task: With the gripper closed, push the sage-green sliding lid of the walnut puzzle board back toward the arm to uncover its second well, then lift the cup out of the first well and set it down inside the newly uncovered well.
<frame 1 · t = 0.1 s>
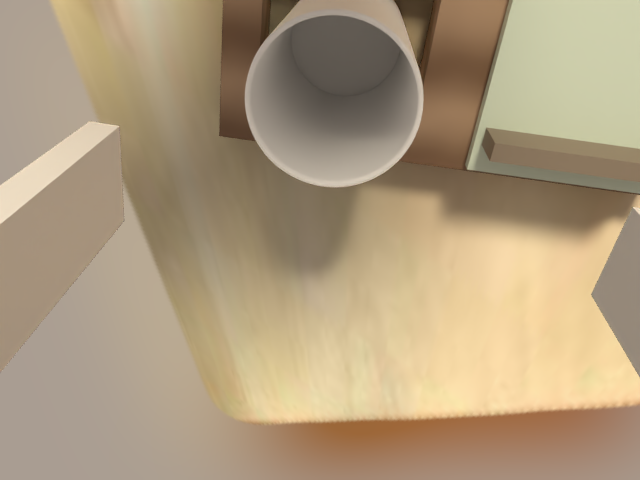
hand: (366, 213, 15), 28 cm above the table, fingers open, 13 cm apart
lid: (601, 93, 34), point 6 cm above the table, slide at 0.0 cm
board: (459, 55, 39), on the table
cup: (346, 39, 39), resting in board
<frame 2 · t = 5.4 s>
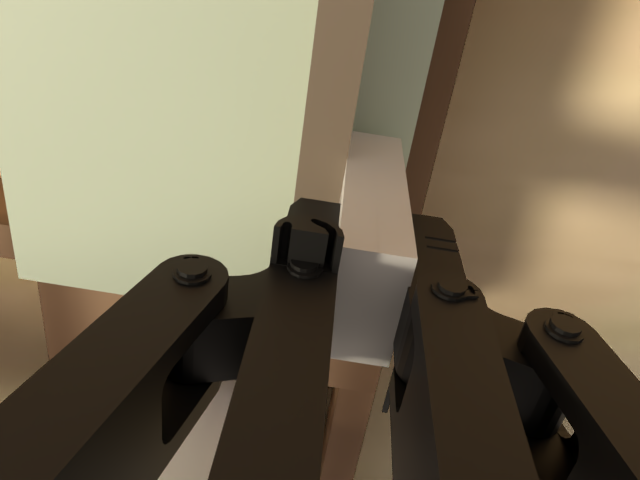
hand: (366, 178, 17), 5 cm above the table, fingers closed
lid: (187, 151, 16), point 6 cm above the table, slide at 0.5 cm, touching gripper
board: (231, 273, 25), on the table
cup: (224, 395, 29), resting in board
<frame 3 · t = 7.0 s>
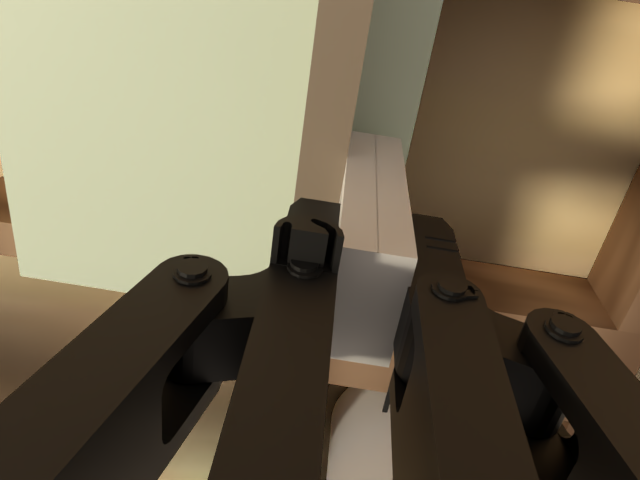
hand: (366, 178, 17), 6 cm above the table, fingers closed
lid: (188, 149, 16), point 6 cm above the table, slide at 10.4 cm, touching gripper
board: (446, 305, 25), on the table
cup: (408, 422, 30), resting in board
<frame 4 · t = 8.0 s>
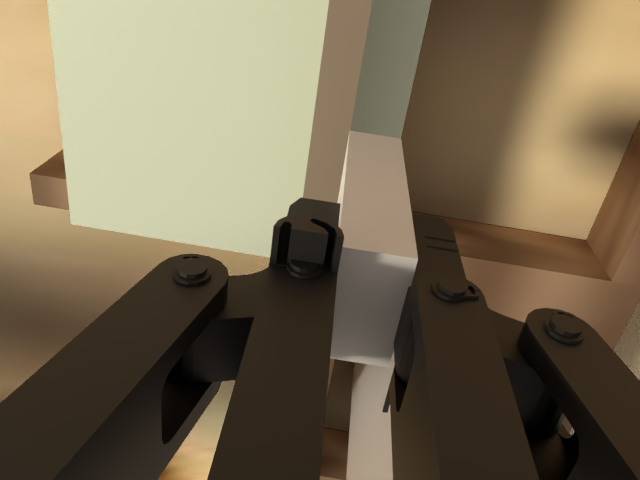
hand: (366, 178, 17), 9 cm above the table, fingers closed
lid: (220, 108, 20), point 6 cm above the table, slide at 11.3 cm
board: (460, 264, 28), on the table
cup: (423, 375, 33), resting in board
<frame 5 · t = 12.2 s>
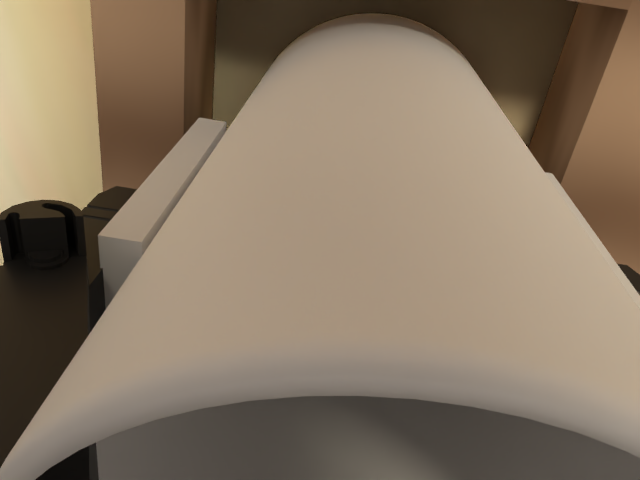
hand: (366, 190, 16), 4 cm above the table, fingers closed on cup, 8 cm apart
board: (594, 174, 19), on the table
cup: (367, 136, 20), resting in board, touching gripper
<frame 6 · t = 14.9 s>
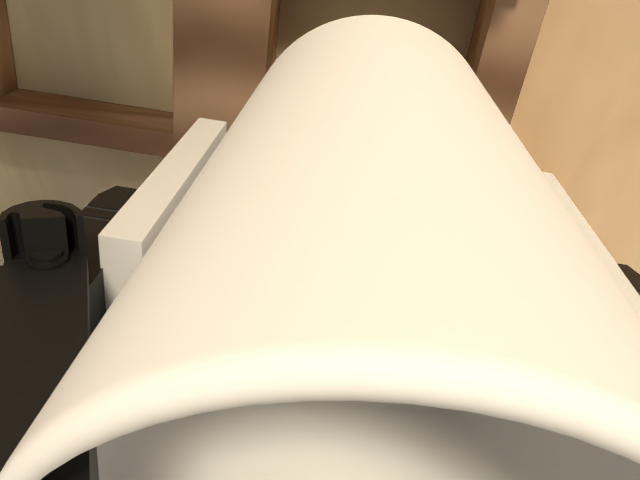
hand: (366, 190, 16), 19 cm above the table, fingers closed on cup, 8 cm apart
board: (234, 30, 32), on the table
cup: (367, 137, 20), point 15 cm above the table, touching gripper
when the fingers open (6 cm above the table, at t = 17.8 s): cup drops 1 cm, resting in board.
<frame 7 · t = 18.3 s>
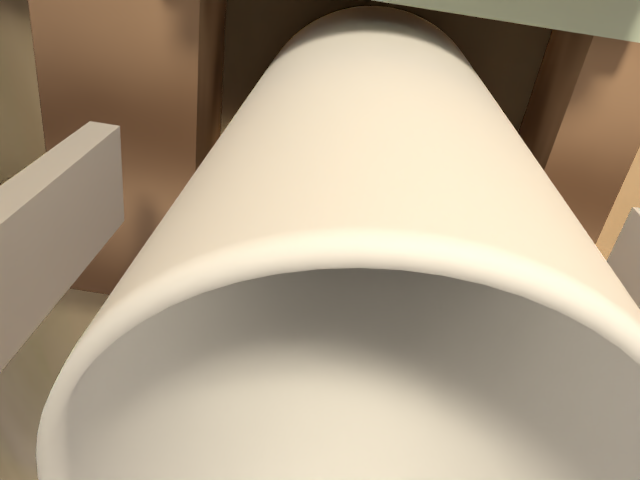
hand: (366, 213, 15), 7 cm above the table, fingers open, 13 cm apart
board: (155, 91, 21), on the table
cup: (367, 122, 21), resting in board
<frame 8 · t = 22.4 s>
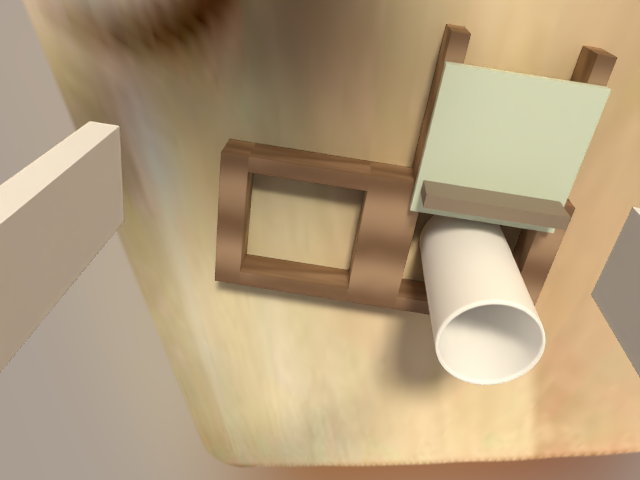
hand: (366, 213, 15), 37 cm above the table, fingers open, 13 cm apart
lid: (506, 158, 46), point 6 cm above the table, slide at 11.3 cm
board: (382, 229, 56), on the table
cup: (460, 240, 56), resting in board
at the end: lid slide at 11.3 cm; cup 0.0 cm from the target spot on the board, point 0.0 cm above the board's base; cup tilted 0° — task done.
